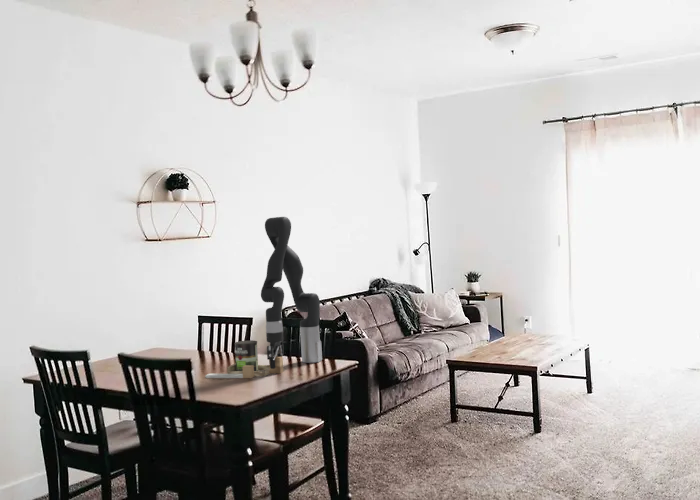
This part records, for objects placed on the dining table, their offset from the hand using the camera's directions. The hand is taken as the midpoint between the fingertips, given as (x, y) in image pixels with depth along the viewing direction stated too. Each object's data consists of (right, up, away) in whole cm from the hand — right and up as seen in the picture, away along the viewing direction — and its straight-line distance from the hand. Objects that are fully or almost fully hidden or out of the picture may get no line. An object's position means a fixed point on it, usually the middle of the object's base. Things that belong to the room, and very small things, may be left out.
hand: (276, 366), depth 301 cm
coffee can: (-14, -4, +4) cm, 15 cm away
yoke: (-9, -3, +2) cm, 9 cm away
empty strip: (-20, -4, -4) cm, 21 cm away
